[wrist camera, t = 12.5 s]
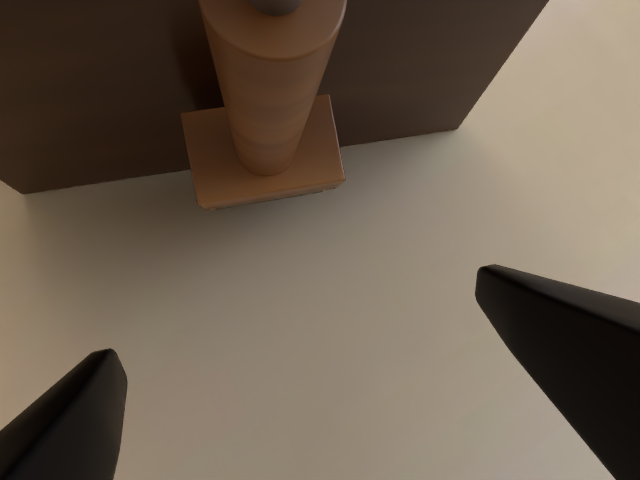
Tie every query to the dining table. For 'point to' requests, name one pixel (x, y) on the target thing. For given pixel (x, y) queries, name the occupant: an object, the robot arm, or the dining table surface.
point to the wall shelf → (202, 83)
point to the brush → (266, 103)
